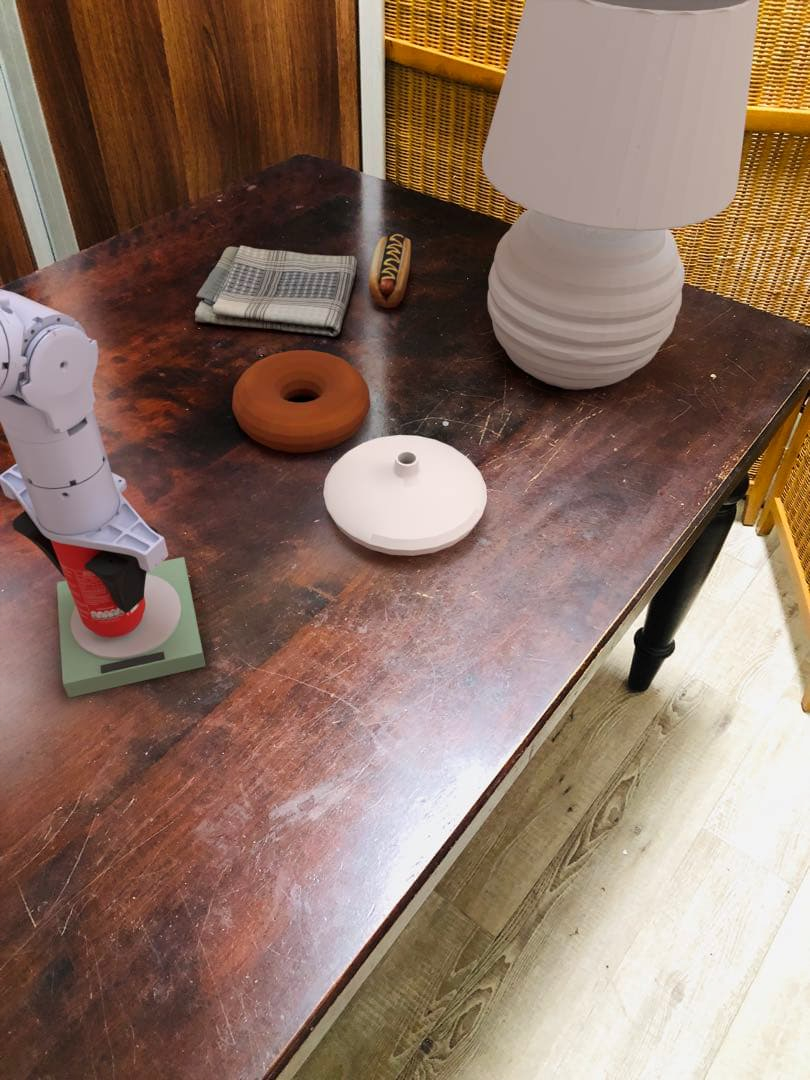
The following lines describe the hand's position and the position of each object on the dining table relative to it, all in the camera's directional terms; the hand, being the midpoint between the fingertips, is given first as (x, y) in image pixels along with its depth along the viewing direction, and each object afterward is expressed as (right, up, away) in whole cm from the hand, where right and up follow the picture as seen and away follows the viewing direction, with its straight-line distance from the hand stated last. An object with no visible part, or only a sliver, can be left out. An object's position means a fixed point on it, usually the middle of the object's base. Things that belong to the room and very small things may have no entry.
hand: (105, 588), depth 70 cm
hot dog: (+22, +37, +45) cm, 62 cm away
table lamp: (+43, +25, +35) cm, 61 cm away
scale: (0, -4, +6) cm, 7 cm away
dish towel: (+8, +35, +43) cm, 56 cm away
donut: (+13, +17, +26) cm, 34 cm away
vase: (+24, +6, +17) cm, 30 cm away
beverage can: (0, -3, +3) cm, 4 cm away
